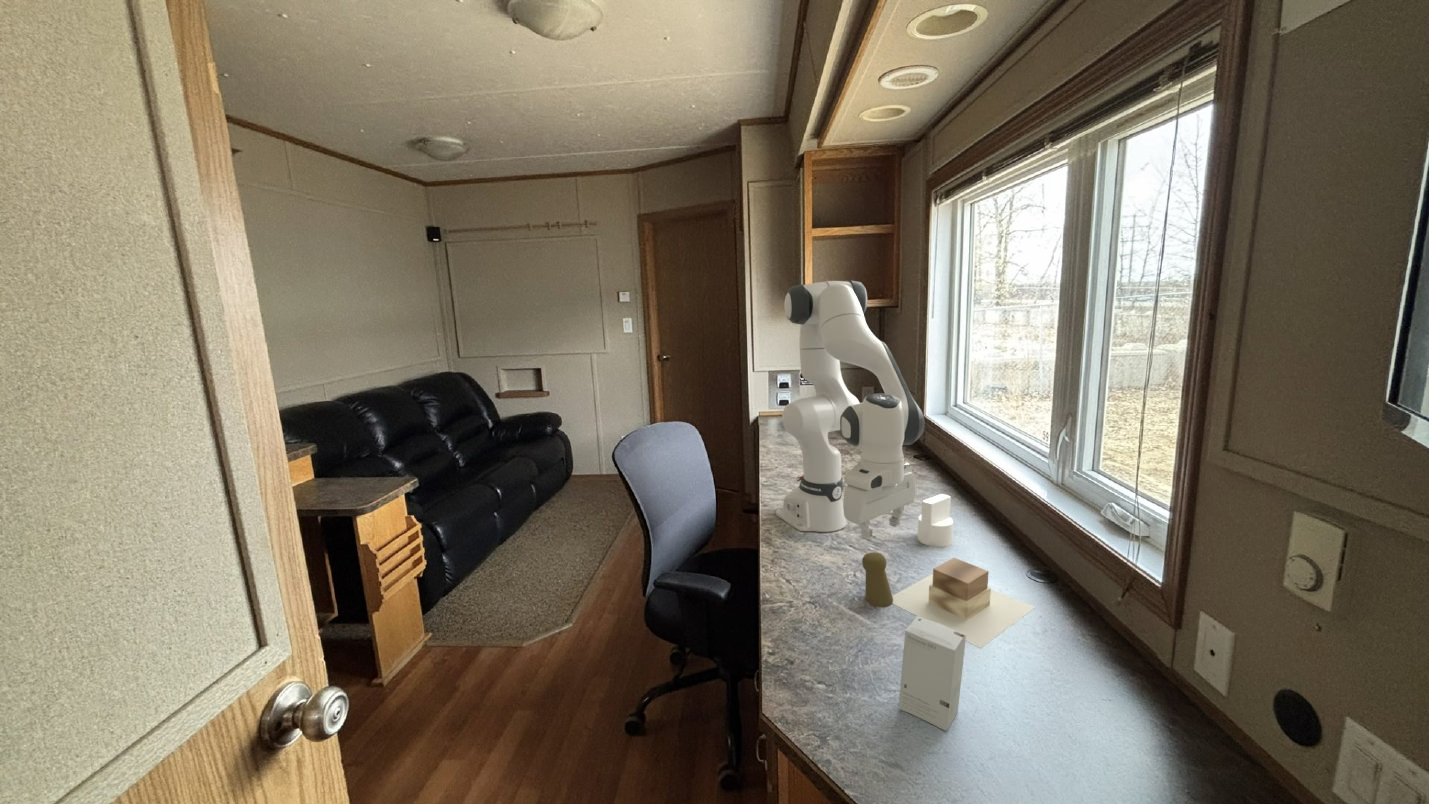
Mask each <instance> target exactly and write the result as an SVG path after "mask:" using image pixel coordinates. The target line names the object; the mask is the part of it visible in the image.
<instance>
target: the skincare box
mask: <svg viewBox="0 0 1429 804" xmlns="http://www.w3.org/2000/svg"><path fill="white" fill-rule="evenodd" d="M915 616H916V615H915ZM903 641H904V643H903V651H902V652H903V653H902V654H903V655H902V664H901V677H900V688H899V700H898V701H899V703H898V707H899V710H901V711H903V712H906V713H908V714H910V715H912V716H915V717H917V718H919V719H921V720H924V721H926V722H928V723H929V724H932V725H933V726H935V727H937V728H940V729H941V730H942V731H945V732H948V731H949V728H950V726H951V725H952V723H953V721H954V719H955V718H956V715H957V714H958V712H959V705H960V696H961V695H960V694H961V684H962V677H963V667H964V656H965V648H966V642H967V641H966V634H963V633H961V632H958V631H956V630H953V629H950V628H948V627H946V626H944V625H942V624H940V623H936V622H932V621H929V620H927V619H924V618H921V617H919V616H916V617H914V619H913V620H912V622H911V623H910V624H909V626H907V628H906V629H905V633H904V640H903Z"/></svg>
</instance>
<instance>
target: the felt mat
mask: <svg viewBox="0 0 1429 804" xmlns="http://www.w3.org/2000/svg"><path fill="white" fill-rule="evenodd" d="M931 584H933V573H931V574H930V575H928V576H926V577H924V578H923V579H921V580H919V581H916V582H915V583H913V584H912V585H910V586H908V587H906V588H904V589H902V590H901V591H899V592H897V593H895V594H892V597H893V603H892V604H893V605H894V606H896V607H898V608H900V609H903V610H904V611H906V612H908V613H911V615H912V614H913V615H914V616H919V617H921V618H924V619H927V620H929V621H932V622H936V623H940V624H942V625H944V626H946V627H948V628H950V629H953V630H956V631H958V632H961V633H963V634H966V641H965V642H967V643H969V644H970V645H972V646H975V647H977V648H979V649H982V648H983V647H984V646H986V645H987V644H989V643H990V642H991V641H993V640H994V639H995V638H996V637H998V636H1000V634H1002V633H1004V632H1005V631H1006V630H1007V629H1008V628H1010V627H1011V626H1013V625H1014V624H1015V623H1017V622H1018V621H1020V620H1021V619H1022V618H1024V617H1025V616H1027V614H1029V613H1031V612H1032V611H1033V610H1034V609H1036V607H1035V606H1033V605H1030V604H1028V603H1025V602H1024V601H1021V600H1018V599H1016V598H1013V597H1011V596H1009V595H1006V594H1004V593H1002V592H999V591H997V590H995V589H992V588H991V595H990V605H989V606H988V607H986V608H985V609H983V610H982V611H980V612H979V613H977V614H976V615H974V616H973V617H971V618H970V619H968V620H965V619H963V618H961V617H959V616H957V615H955V614H953V613H950V612H948V611H946V610H944V609H942V608H940V607H938V606H936V605H934V604H932V603H930V602H928V601H929V585H931ZM892 604H891V605H892Z"/></svg>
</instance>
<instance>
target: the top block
mask: <svg viewBox="0 0 1429 804" xmlns="http://www.w3.org/2000/svg"><path fill="white" fill-rule="evenodd" d="M932 570H933V571H932V574H933V586H935V587H937V588H939V589H941V590H943V591H946V592H948V593H950V594H952V595H955V596H957V597H959V598H961V599H963V600H966V601H968V600H970V599H971V598H973V597H974V596H976V595H978V594H979V593H981V592H982V591H984V590H985V589H987V587H988V586H989V573H990V572H989V570H987V569H984V568H981V567H979V566H976V565H974V564H971V563H968V562H966V561H963V560H961V559H958V558H957V557H952V558H951V559H949V560H947V561H945V562H944V563H941V564H939V565H938V566H936V567H934V568H933V569H932Z"/></svg>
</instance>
